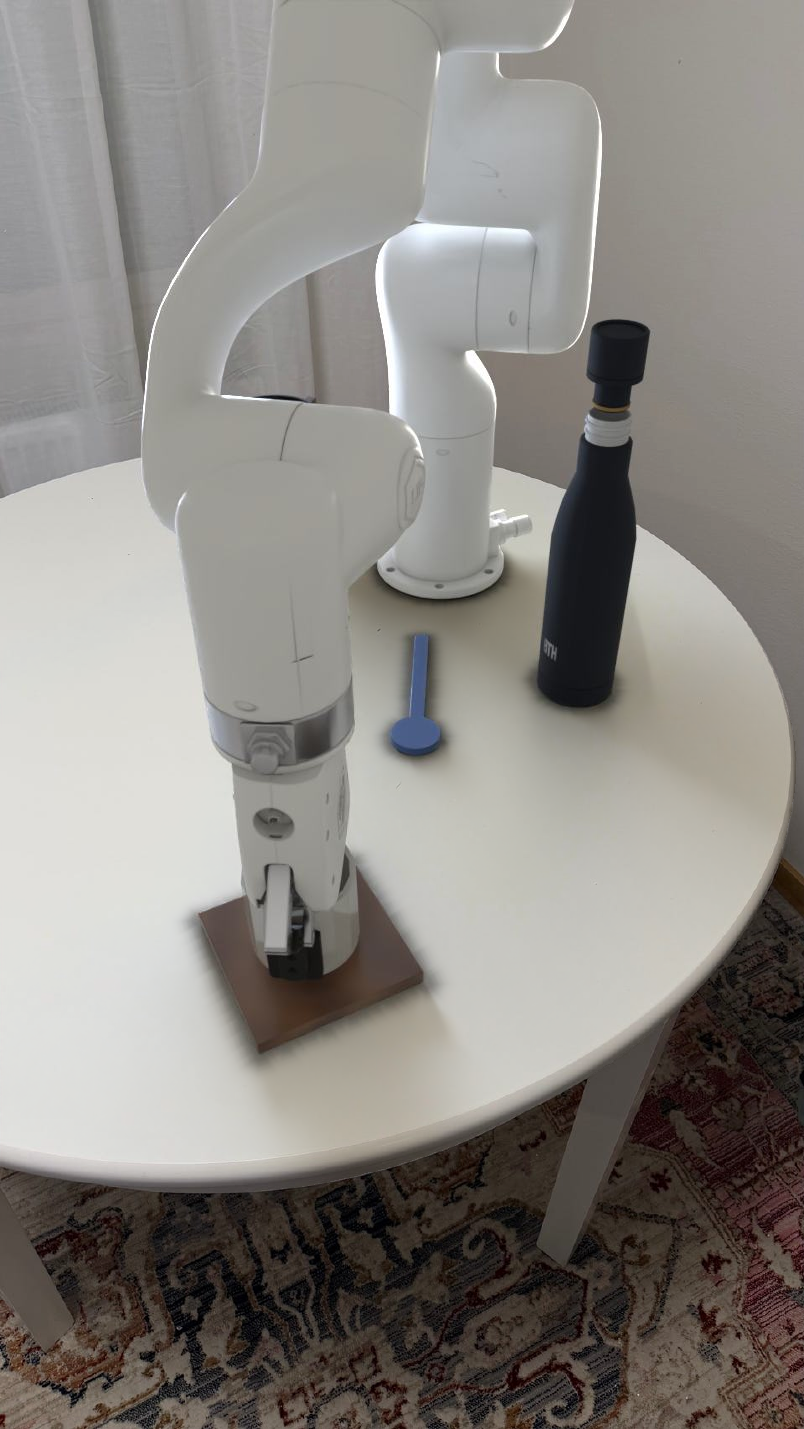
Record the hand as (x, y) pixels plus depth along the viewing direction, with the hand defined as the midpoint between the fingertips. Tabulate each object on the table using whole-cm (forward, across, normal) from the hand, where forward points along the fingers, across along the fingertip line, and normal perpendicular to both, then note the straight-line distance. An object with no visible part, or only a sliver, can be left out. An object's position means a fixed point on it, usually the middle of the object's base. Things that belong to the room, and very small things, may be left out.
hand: (305, 921), depth 63 cm
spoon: (+3, +27, -6) cm, 28 cm away
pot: (+1, 0, 0) cm, 1 cm away
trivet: (+3, 0, 0) cm, 3 cm away
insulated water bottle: (+3, +28, -19) cm, 35 cm away
